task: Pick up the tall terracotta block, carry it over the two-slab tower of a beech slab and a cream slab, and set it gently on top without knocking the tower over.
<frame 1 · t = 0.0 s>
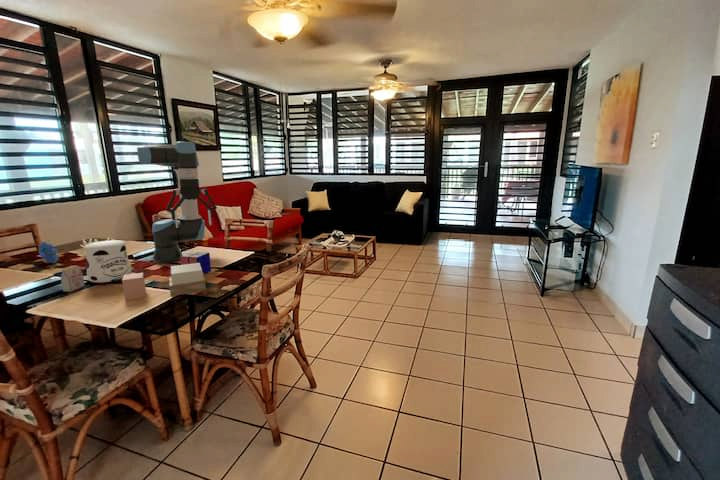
hand: (194, 225, 152), 28 cm above the table, tool pointing down, fingers open, 13 cm apart
tower top: (187, 278, 152), point 4 cm above the table, touching tower base
blue thick disc: (48, 263, 185), on the table
puzzle cube: (196, 273, 174), on the table
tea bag: (74, 289, 151), on the table
terracotta block: (136, 295, 144), on the table
milk container: (111, 280, 162), on the table
tower base: (188, 288, 153), on the table, touching tower top
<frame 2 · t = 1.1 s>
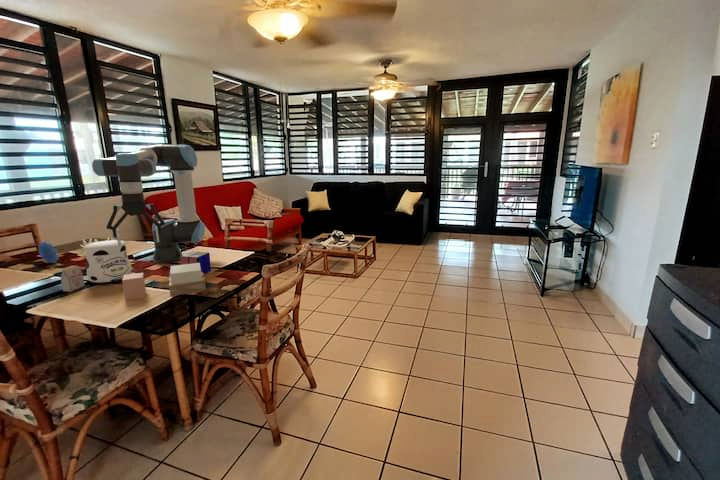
hand: (139, 243, 141), 23 cm above the table, tool pointing down, fingers open, 13 cm apart
nothing on the table moved.
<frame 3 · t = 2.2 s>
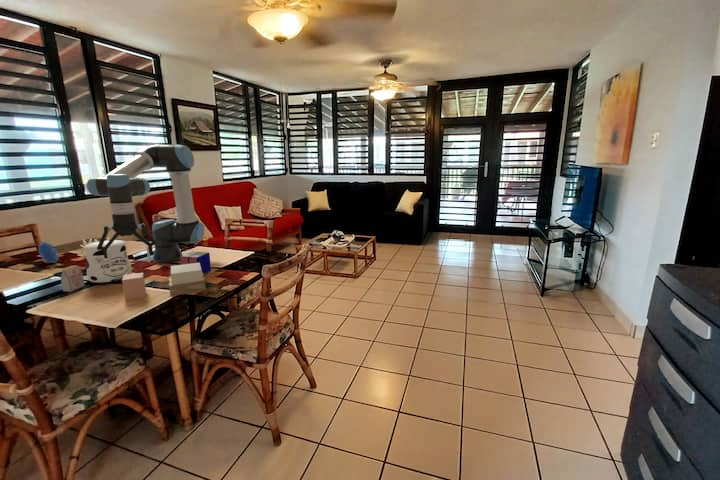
hand: (130, 263, 140), 15 cm above the table, tool pointing down, fingers open, 13 cm apart
nothing on the table moved.
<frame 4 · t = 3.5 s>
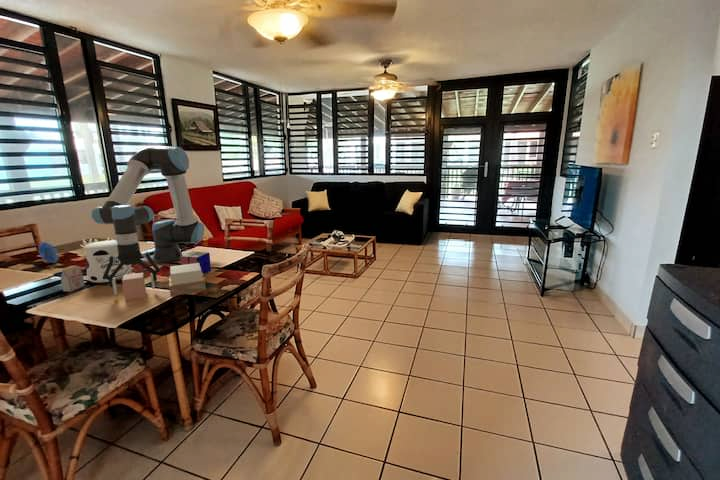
hand: (135, 290, 143), 2 cm above the table, tool pointing down, fingers open, 13 cm apart
nothing on the table moved.
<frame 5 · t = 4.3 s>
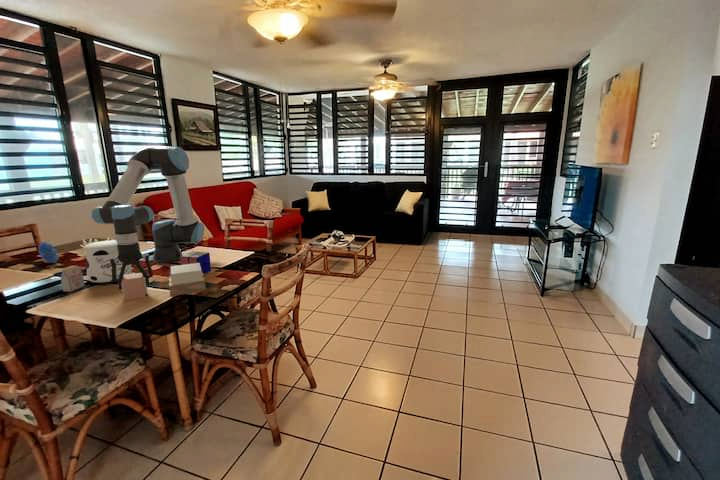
hand: (135, 294, 144), 1 cm above the table, tool pointing down, fingers closed on terracotta block, 7 cm apart
tower top: (187, 278, 152), point 5 cm above the table
terracotta block: (136, 295, 144), on the table, touching gripper
tower base: (187, 289, 153), on the table
everything else where it was.
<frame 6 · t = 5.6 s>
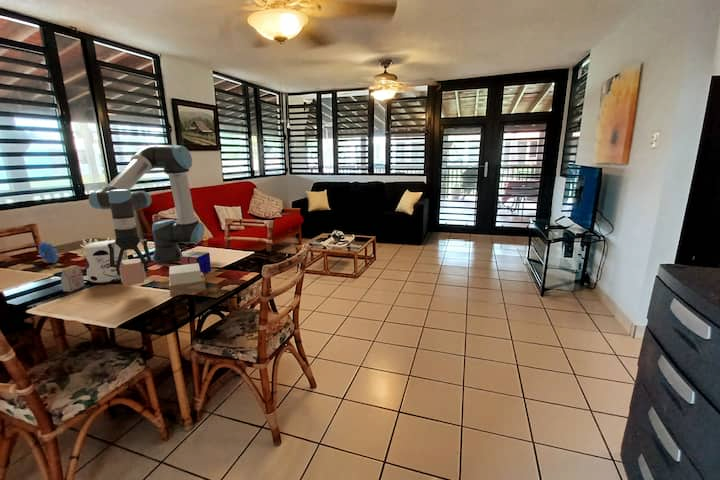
hand: (134, 280, 143), 7 cm above the table, tool pointing down, fingers closed on terracotta block, 7 cm apart
tower top: (185, 278, 152), point 4 cm above the table, touching tower base
terracotta block: (134, 281, 143), point 6 cm above the table, touching gripper
tower base: (187, 289, 153), on the table, touching tower top
everything else where it was.
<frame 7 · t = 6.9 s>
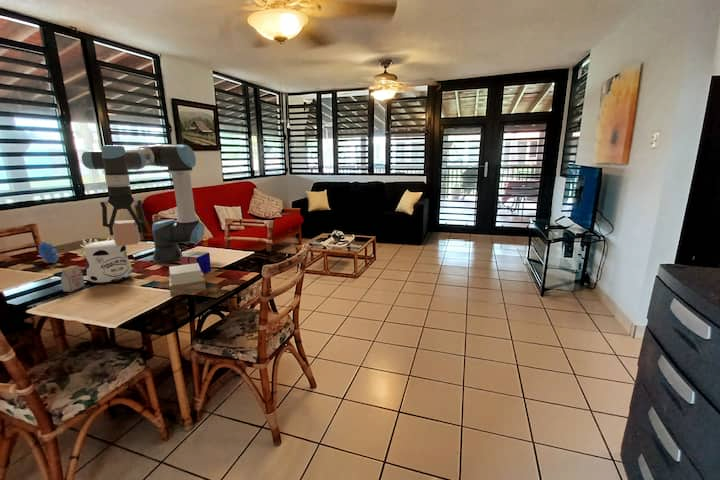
hand: (127, 241, 138), 24 cm above the table, tool pointing down, fingers closed on terracotta block, 7 cm apart
tower top: (186, 278, 152), point 5 cm above the table
terracotta block: (128, 243, 139), point 23 cm above the table, touching gripper
tower base: (188, 289, 153), on the table
everything else where it was.
when the fingers open (12 cm above the table, at t = 11.8 s): terracotta block drops 2 cm, resting on tower top.
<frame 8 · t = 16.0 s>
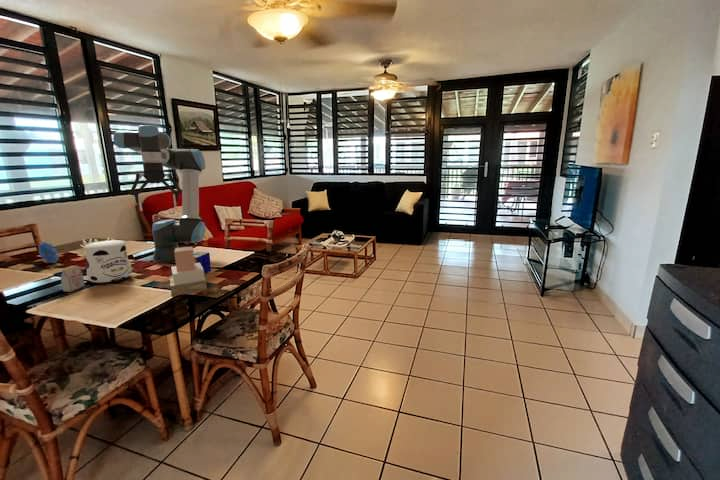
hand: (158, 209, 153), 35 cm above the table, tool pointing down, fingers open, 13 cm apart
tower top: (188, 278, 152), point 4 cm above the table, touching terracotta block, tower base
terracotta block: (186, 268, 151), point 10 cm above the table, touching tower top
tower base: (188, 288, 153), on the table, touching tower top
everything else where it was.
at the end: terracotta block inside the target area on the tower top (0.5 cm from its centre), point 5.0 cm above the tower top's base; tower top moved 0.8 cm from its start; tower base moved 0.6 cm from its start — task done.
